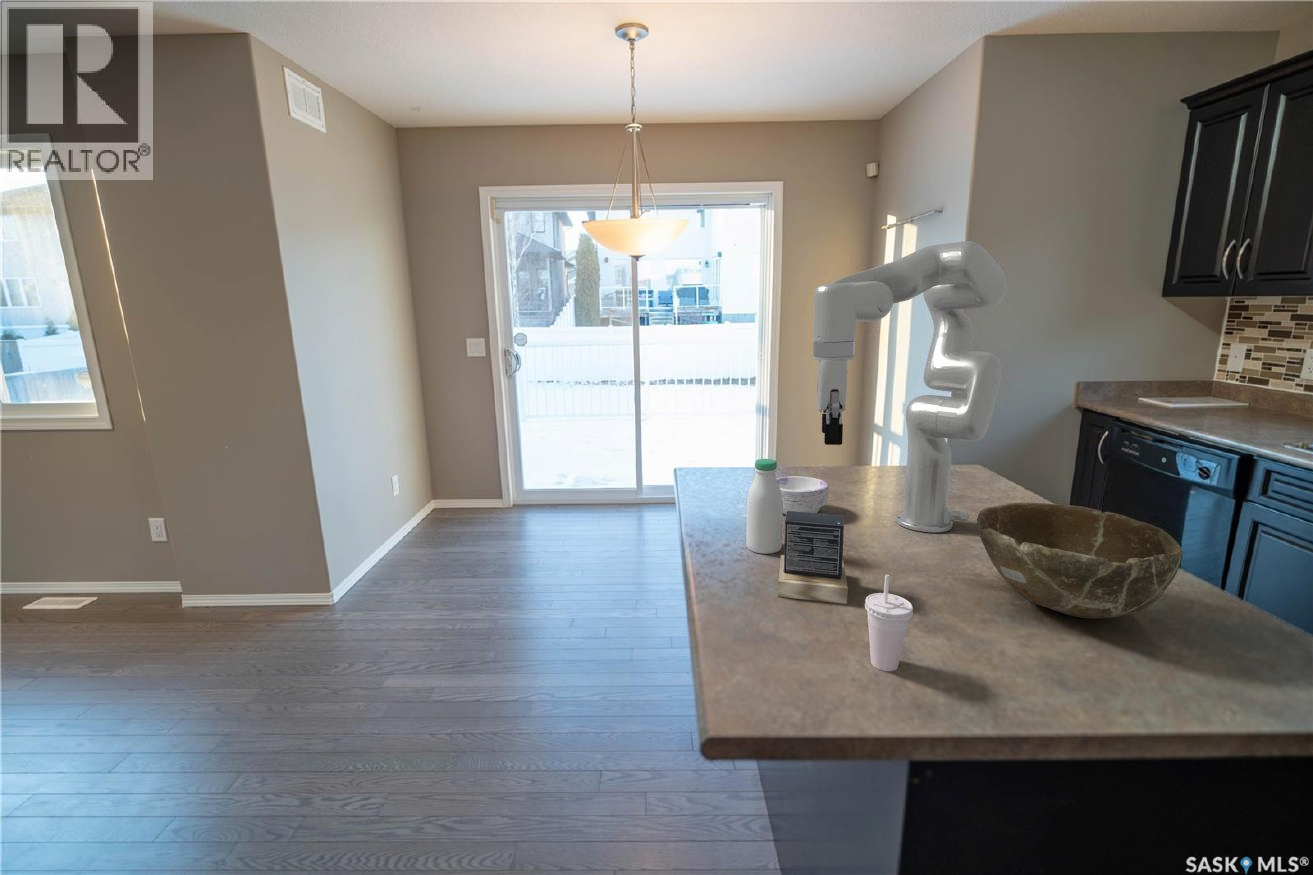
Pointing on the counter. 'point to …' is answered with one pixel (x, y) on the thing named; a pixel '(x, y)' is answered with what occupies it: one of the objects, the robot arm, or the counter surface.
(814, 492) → the paper bowls
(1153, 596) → the bowl
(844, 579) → the base
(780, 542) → the milk bottle
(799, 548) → the small box
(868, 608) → the smoothie
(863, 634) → the counter surface
